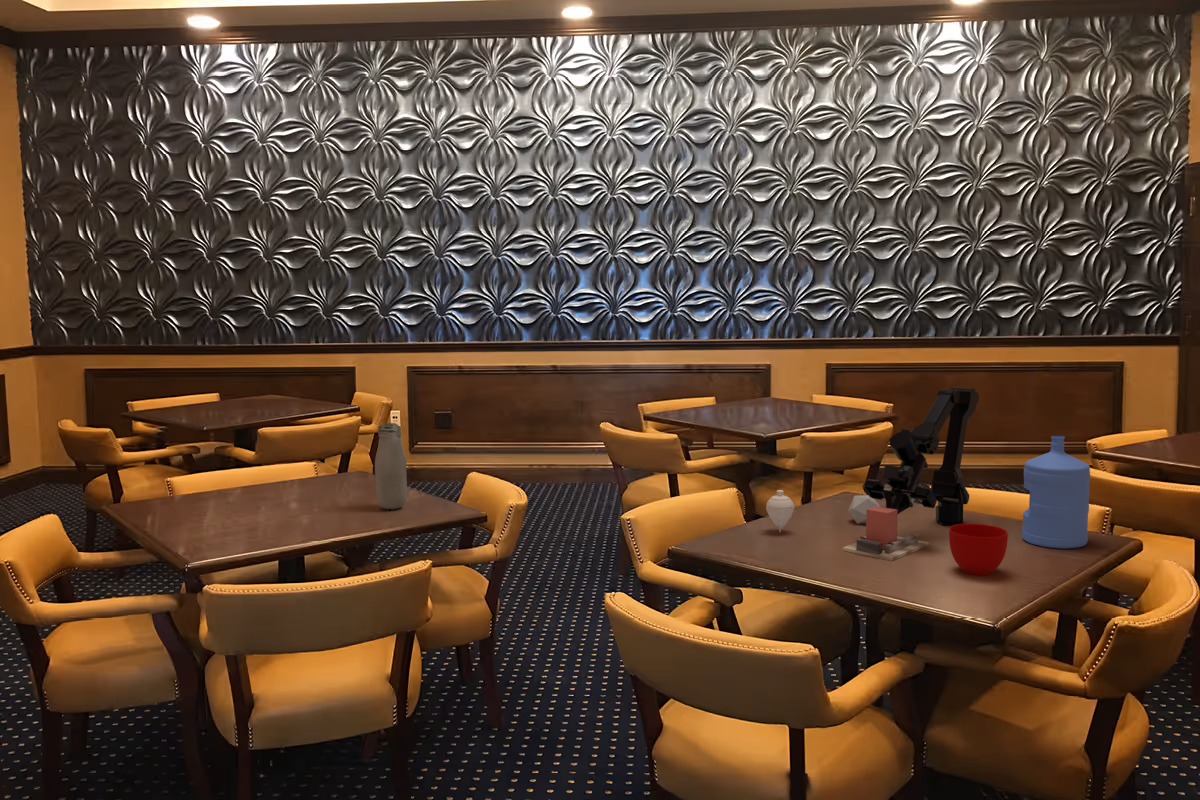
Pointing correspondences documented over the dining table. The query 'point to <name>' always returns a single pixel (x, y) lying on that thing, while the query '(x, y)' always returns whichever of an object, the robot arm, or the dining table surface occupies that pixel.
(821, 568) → the dining table surface
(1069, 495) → the water jug
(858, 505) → the die
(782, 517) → the spinning top
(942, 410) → the robot arm
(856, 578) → the dining table surface
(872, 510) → the pink upright block
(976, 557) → the ceramic cup
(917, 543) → the press stand
